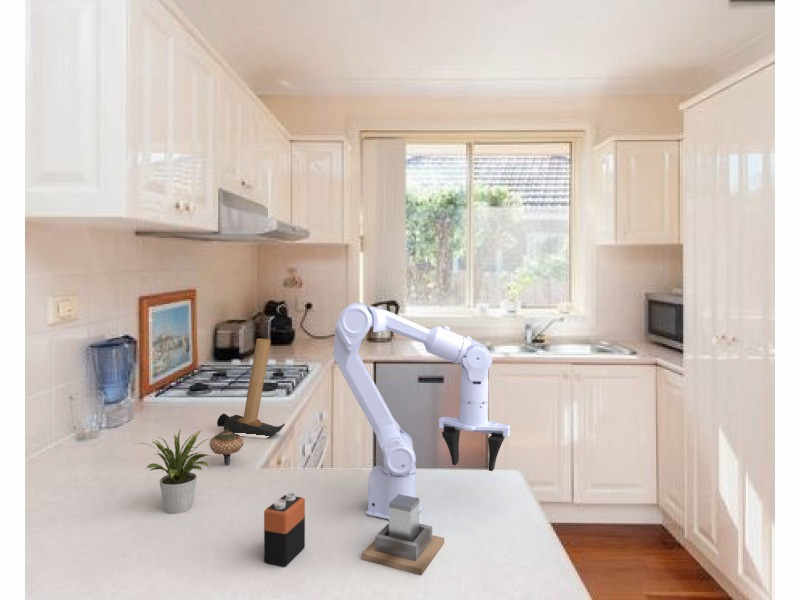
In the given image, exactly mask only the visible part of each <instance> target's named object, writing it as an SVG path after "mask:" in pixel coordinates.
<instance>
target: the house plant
mask: <svg viewBox="0 0 800 600" xmlns="http://www.w3.org/2000/svg"><path fill="white" fill-rule="evenodd" d="M181 432H182V428H180V429H179V430H178V433H177V436H176V434H173V438H174V443H173V444H174V448H175V449H174V451H175V452H173V451H172V450H171V449H170V447H169V445H168V443H167V441H166V440H165V439H164V438H163V437H162V438H161V437H159V436H157V438H159V439H161V440H162V441H163V442H164V444H165V445H166V447H164V446H163V444H162V443H160V441H159V440H157V439H154V438H152V440H151V442H152V444H154V445H156V447H157V448H158V450H159V451H160V452H161V453H160V452H157V453H155V454H154V456H155V455H158V456H159V457H160V458H161V459H162V460H163V462H164V465H165V467H166V469H165V467H163V466H162V465H160V464H158V463H154V462H153V463H149V464H148V465H147V466H146V467H145V469H149V471H155V470H161V472H163V471H164V472H166V474H167V475H164V476H162V477H161V478H160V479H159V485H160V486H159V487H160V490H161V497H162V502H163V506H164V507H163V508H164V511H165V513H166V514H173V515H174V514H181V513H185V512H187V511H190V509H192V507H193V502H194V498H195V497H194V496H195V491H196V486H197V479H198V475H197V474H196V473H195V472H191V471H192V470H200V471H201V472H203V471H202V467H201V466H200V465H203V466H206V467H207V468H210V467H209V466H210V465H209V464H208V462H206V461H204V460H202V461H199V459H201V458H204V457H210V456H211V455H210V454H206V453H202V451H201V452H200V451H198V452H194V451H195V450H196V449H198V447H199V446H200V445H201V444H203V443H204V442H205V441H209V440H211V438H212V437H211V438H207V439H204V440H202V441H201V442H200V443H198V444H197V445H196V446H195V447H193V446H194V445H195V443H196V441H197V438H198V436H199V434H201V430H199V431H197V432H195V433H193V434H192V435H190V436H189V437H188V438H187V439H186V440H185V442H184V443H183V445H182V446H181V445H180V436H181ZM186 443H187V444H186ZM133 444H136V443H133ZM140 444H143V445H148V446H149V447H152V448H154V449H155V447H153V446H152V445H150V444H148V443H145V442H140ZM192 449H193V450H192ZM190 452H191V453H190ZM193 452H194V453H193ZM149 471H148V472H149Z"/></svg>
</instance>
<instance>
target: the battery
mask: <svg viewBox="0 0 800 600" xmlns="http://www.w3.org/2000/svg"><path fill="white" fill-rule="evenodd" d="M305 512H306V499H305V498H304V497H300V496H296V494H295V493H294V492H289V493H287V494H284V495H283V496H281V497H280V498H279V499H277V500H275V501H274V502H273V503H272V504H271V505H269V506H268V507H266V508H265V509H264V512H263V516H264V517H263V519H264V520H263V523H264V524H263V525H264V526H263V528H264V529H263V531H264V532H263V535H264V536H263V539H264V540H263V541H264V543H263V546H264V547H263V557H264V558H263V561H264V563H267V564H272V565H276V566H279V567H280V566H282V567H287V565H289V564H290V563H291V562H292V561H293V559H295V558H296V557H297V555H298V554H300V553H301V552H302V551H303V549H304V548H305V546H306V545H305V543H306V526H305V525H306V515H305V514H306V513H305Z"/></svg>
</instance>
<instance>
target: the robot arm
mask: <svg viewBox="0 0 800 600" xmlns="http://www.w3.org/2000/svg"><path fill="white" fill-rule="evenodd" d="M372 327H373V328H372ZM334 328H335V329H334V332H335V333H334V341H333V351H332V352H333V353H332V355H333V358H334V361H335V363H336V364H337V366H338V368H339V370H340V372H341V373H342V375H343V377H344V379H345V381H346V382H347V385H348V387H349V388H350V390H351V392H352V394H353V396H354V397H355V400H356V401H357V403H358V405H359V407H360V408H361V410H362V411H363V414H364V415H365V418H366V419H367V421H368V423H369V425H370V427H371V428H372V430H373V432H374V434H375V436H376V438H377V439H376V440H377V443H378V446H379V447H380V450H381V452H382V454H383V462H382V464H381V465H375V466H373V467H372V469H371V470H370V472H369V475H368V476H369V477H368V481H367V482H368V483H367V510H366V512H365V514H366V515H367V516H370V517H375V518H376V517H377V518H381V519H385V520H389V503H390V502H391V501H392V500H393V499H394V498H395V497H396V496H397V495H398V494H400V495H405V496H410V497H415V498H417V466H416V462H417V460H416V459H417V456H416V453H415V450H414V443H413V439H412V437H411V435H409V434H408V433H407V432H405V431H404V430H403V429H402V428H401V426H400V425H399V423H398V421H396V419H395V418H394V416H393V414H392V412H391V410H390V409H389V407H388V404H386V401H385V400H384V397H383V396H382V394H381V392H380V390H379V389H378V387H377V385H376V383H375V381H374V379H373V378H372V376H371V374H370V372H369V370H368V368H367V367H366V365H365V363H364V361H363V359H362V357H361V355H360V354H359V350H360V348H361V346H362V345H361V344H362V341H363V339H364V338H365V337H366V335H367V333H369V331H370V329H371V328H372V329H373V333H379V332H383V331H385V332H386V331H390V332H392V333H395V334H397V335H400V336H403V337H406V338H408V339H411V340H413V341H417V342H418V343H422V344H423V345H424V347H425V351H426V352H427V353H428V354H431V355H434V356H436V357H438V358H441V359H443V360H445V361H449V362H451V363H452V364H461V366H460V368H461V369H460V371H461V372H460V373H461V374H460V380H459V381H460V382H459V384H460V385H459V417H450V416H449V417H448V416H447V417H446V416H441V417H439V419H438V429H443V431H442V432H441V435H442V438H443V439H444V442H445V444H446V446H447V448H448V451H449V454H450V459H451V463H452V465H453V466H456V465H458V463H459V462H460V461H459V460H460V448H459V447H460V444H459V443H460V436H461V435H460V434H461V431H466V432H472V433H480V434H488V435H490V436H489V437H488V438H487V443H488V471H489V472H493V471H494V469H495V466H496V462H497V458H498V454H499V452H500V448H501V446H502V444H503V442H504V440H505V438H508V437H510V435H511V425H510V424H504V423H500V422H495V421H493V420H492V421H491V420H489V370H490V369H489V368H490V367H491V365H492V363H493V358H492V355H491V352H490V350H489V349H488V347H487V346H485V345H484V344H482V343H481V342H478V341H477V340H475V339H473V338H472V337H471V336H468V335H465V336H463V335H461V334H458V333H455V332H453V331H451V328H450V327H449V326H447V325H443V327H441V326H439V325H437V326H435V327H432V328H428V327H427V328H426V327H424V326H422V325H421V324H418V323H415V322H413V321H412V320H409V319H407V318H405V317H402V316H400V315H398V314H397V313H394V312H392V311H389V310H386V309H383V308H380V307H376V306H373V305H372V306H371V305H369V306H367V305H366V304H365V303H362V302H353V303H350V304H349V305H347V306H346V307H344V308H343V310H342V311H341V313H340V314H339V316H338V319H337V320H336V323H335V327H334ZM423 508H424V506H423V505H421V504H419V513H420V512H421V511H422V510H423Z"/></svg>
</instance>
